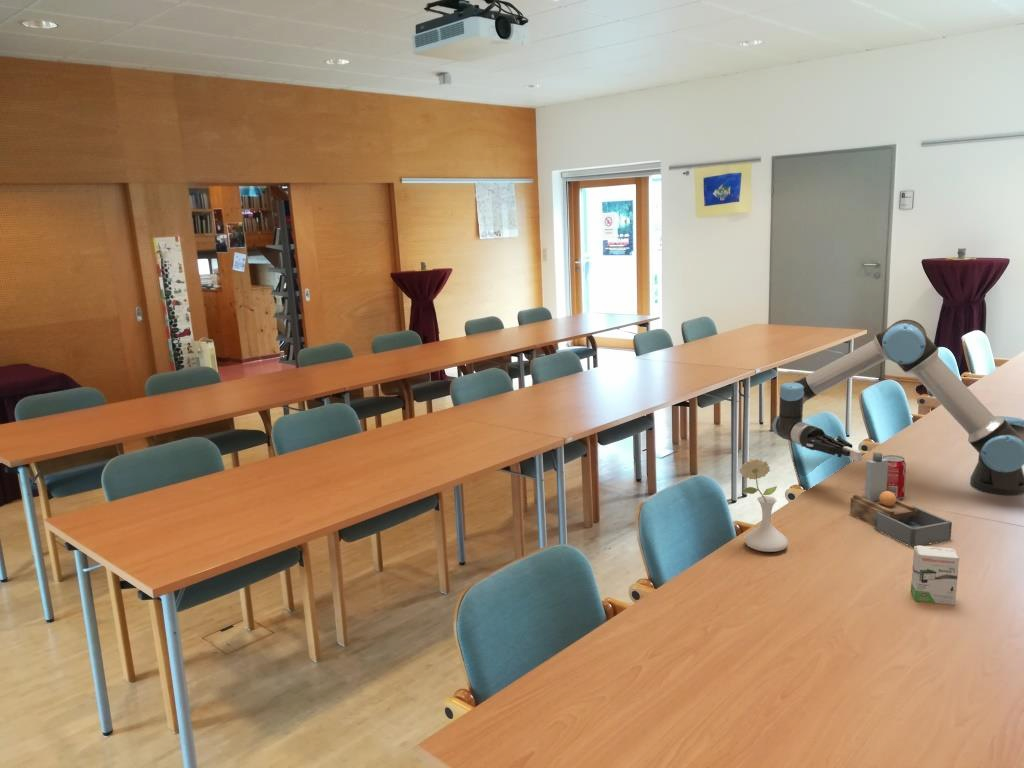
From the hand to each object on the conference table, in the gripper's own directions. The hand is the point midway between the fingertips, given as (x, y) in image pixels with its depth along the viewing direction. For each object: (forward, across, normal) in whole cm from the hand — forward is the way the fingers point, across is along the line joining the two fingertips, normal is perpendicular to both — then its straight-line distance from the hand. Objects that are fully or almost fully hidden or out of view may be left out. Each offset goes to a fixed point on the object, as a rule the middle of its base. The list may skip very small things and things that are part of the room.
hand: (859, 456), depth 227 cm
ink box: (+52, +23, -16) cm, 59 cm away
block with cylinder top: (+7, 0, -11) cm, 13 cm away
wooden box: (+10, 0, -16) cm, 19 cm away
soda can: (-3, -16, -17) cm, 23 cm away
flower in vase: (+13, +41, -17) cm, 46 cm away
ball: (+12, 0, -9) cm, 15 cm away
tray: (+21, 0, -16) cm, 27 cm away
